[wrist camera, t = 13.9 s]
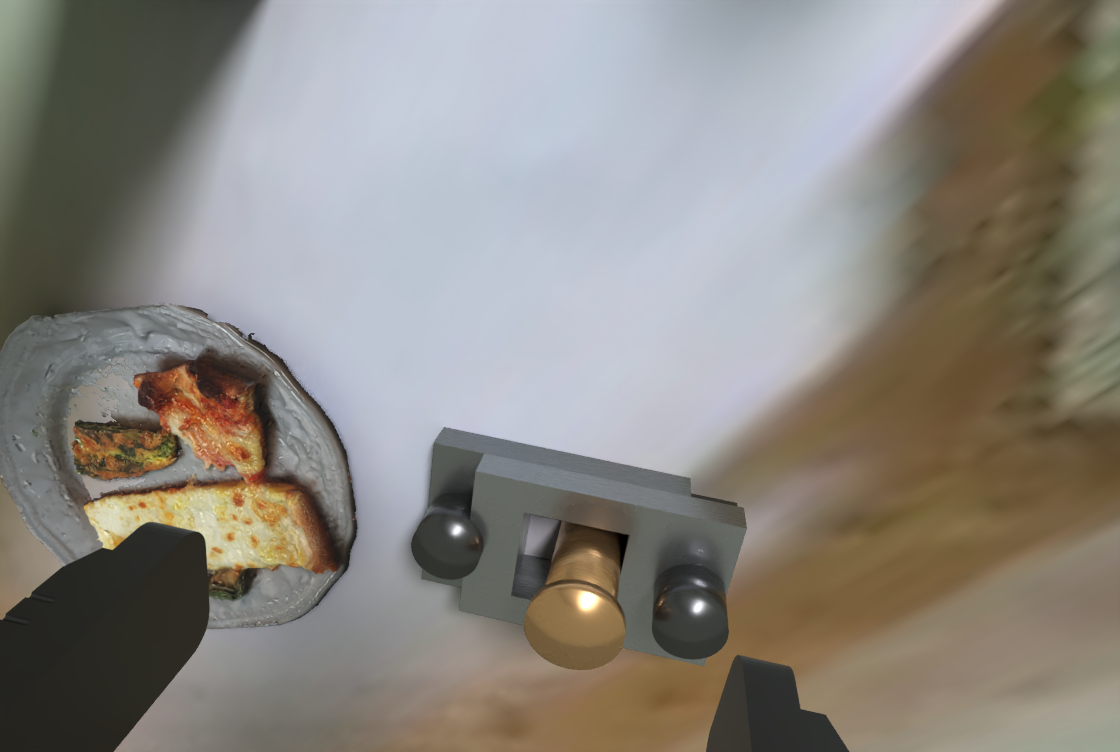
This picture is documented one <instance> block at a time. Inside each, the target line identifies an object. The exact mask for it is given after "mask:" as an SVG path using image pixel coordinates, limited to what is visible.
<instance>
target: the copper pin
mask: <svg viewBox="0 0 1120 752" xmlns="http://www.w3.org/2000/svg"><path fill="white" fill-rule="evenodd" d="M624 538H625V534H622V533H618V532H613V531H608V530H604V529H599V528H594V527H590V526H585V525H580V524H576V523H571V522H566V521H562V522H561V526H560V530H559V534H558V538H557V542H556V546H555V549H554V553H553V557H552V561H551V565H550V569H549V573H548V577H547V581H546V585H545V586H544V587H542V588H541V589H539V590H538V591H537V592H536V593H535V594H534V595H533V597H532V598H531V600H530V602H529V605H528V608H527V612H526V616H525V620H524V630H525V634H526V637H527V639H528V641H529V643H530V645H531V646H532V647H533V649H534V650H535V651H536V652H537V653H538V654H539V655H540V656H541V657H543V658H544V659H546V660H547V661H549V662H551V663H553V664H555V665H557V666H560V667H564V668H568V669H574V670H588V669H594V668H598V667H600V666H603V665H605V664H607V663H609V662H610V661H612V660H613V659H614V658H615V657H616V656H617V655H618V654H619V652H620V651H621V649H622V647H623V644H624V640H625V632H626V618H625V614H624V611H623V609H622V607H621V605H620V604H619V602H618V601H617V598H618V590H619V581H620V572H621V564H622V555H623V547H624Z"/></svg>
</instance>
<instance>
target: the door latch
mask: <svg viewBox="0 0 1120 752" xmlns="http://www.w3.org/2000/svg"><path fill="white" fill-rule="evenodd" d="M530 514H534V515H538V516H543V517H548V518H552V519H557V520H562V521H566V522H571V523H576V524H580V525H585V526H590V527H594V528H599V529H604V530H608V531H613V532H618V533H622V534H625V538H624V547H623V555H622V564H621V572H620V581H619V590H618V598H617V601H618V602H619V604H620V605H621V607H622V609H623V611H624V614H625V618H626V632H625V640H624V644H623V647H622V648H626V649H631V650H635V651H639V652H644V653H648V654H653V655H657V656H662V657H666V658H670V659H675V660H679V661H684V662H688V663H692V664H697V665H701V666H704V665H705V662H706V659H707V657H709V656H712V655H714V654H715V653H717V652H718V651H719V650H720V649H722V647H723V646H724V645H725V643H726V641H727V639H728V633H729V630H728V618H727V606H726V594H727V591H728V588H729V584H730V581H731V578H732V575H733V571H734V568H735V565H736V562H737V558H738V555H739V552H740V549H741V546H742V542H743V539H744V536H745V533H746V529H747V527H746V520H745V513H744V508H742V507H737V503H734V502H729V501H724V500H719V499H715V498H710V497H705V496H700V495H696V494H691V483H690V478H686V477H681V476H676V475H671V474H666V473H662V472H657V471H652V470H647V469H642V468H638V467H633V466H628V465H623V464H618V463H614V462H609V461H604V460H599V459H594V458H589V457H585V456H580V455H575V454H570V453H565V452H561V451H556V450H551V449H546V448H541V447H536V446H532V445H527V444H522V443H517V442H512V441H508V440H503V439H498V438H493V437H488V436H484V435H479V434H474V433H469V432H464V431H459V430H455V429H450V428H445V427H444V428H443V430H442V431H441V433H440V435H439V436H438V438H437V439H436V441H435V442H434V450H433V461H432V472H431V483H430V494H429V505H428V510H427V512H426V514H425V516H424V518H423V519H422V521H421V523H420V525H419V527H418V528H417V530H416V532H415V534H414V536H413V538H412V543H411V548H412V553H413V556H414V558H415V560H416V561H417V563H418V564H419V565H420V566H421V567H422V568H423V571H422V579H425V580H429V581H434V582H438V583H443V584H447V585H451V586H456V587H460V588H462V589H461V598H460V606H459V611H463V612H467V613H472V614H476V615H481V616H485V617H489V618H494V619H498V620H503V621H507V622H511V623H516V624H520V625H524V620H525V616H526V612H527V608H528V605H529V602H530V600H531V598H532V597H533V595H534V594H535V593H536V592H537V591H538V590H539V589H541V588H542V587H544V586H545V585H546V581H547V577H548V573H549V569H550V565H551V560H546V559H542V558H537V557H533V556H528V555H524V551H525V545H526V539H527V533H528V526H529V520H530Z"/></svg>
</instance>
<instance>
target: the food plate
mask: <svg viewBox="0 0 1120 752" xmlns="http://www.w3.org/2000/svg"><path fill="white" fill-rule="evenodd" d="M160 304H161V305H160V306H155V305H146V306H139V307H129V308H126V307H125V308H115V309H113V308H112V309H111V308H110V309H101V310H95V311H88V312H72V313H65V314H58V315H55V317H54V318H52V317H49V316H45V317H44V318H35V317H42V316H39V315H35V316H34V315H33V316H31V317H30V318H29V319H28V320H27V321H25V322H23V323H21V324H20V325H18V326H17V327H16V328H15V329H14V331H13V332H12V333H11V334H9V335H8V338H7V339H6V341H5V344H4V345H3V347H2V349H1V351H0V476H1V479H2V482H3V483H4V485H5V486H4V487H6V488H7V489H8V493H9V494H10V495H11V497H12V500H14V502H15V504H16V505H17V508H18V509H19V511H20V512H21V514H22V516H21V518H22V519H23V520H24V522H25V524H26V525H27V529H29V532H31V533H32V534H33V535H34V536H35V538H37V539H38V540H39V541H40V542H41V543H42V544H44V546H46V547H47V548H48V550H49V551H51V552H52V553H53V554H54V555H55V557H56V558H57V559H58V560H59V562H60V563H61V564H62V565H63V566H65V565H67V564H69V563H72V562H74V561H76V560H78V559H80V558H82V557H84V556H86V555H88V554H90V553H92V552H95V551H97V550H99V549H101V548H106V549H111V550H113V549H114V548H115V547H117V546H118V545H119V544H120V543H121V542H122V541H123V540H125V539H126V538H127V537H128V536H129V535H130V534H132V533H133V532H134V531H135V530H136V529H137V528H139V527H140V526H141V525H143V524H145V523H147V522H156V523H161V524H165V525H170V526H174V527H179V528H183V529H188V530H192V531H196V532H200V533H201V534H202V535H203V536H204V539H205V542H206V555H207V572H208V588H209V605H210V614H209V620H208V625H207V628H206V629H223V628H244V627H259V626H261V624H265V626H273V625H271V623H275V622H276V623H277V624H276V625H281V624H284V623H286V622H290V621H294V620H296V619H298V618H300V617H302V616H303V615H305V614H306V613H308V612H309V611H310V610H311V609H313V608H314V607H315V606H317V605H318V603H319V602H320V601H321V600H322V599H323V597H324V596H325V595H326V594H327V592H328V591H329V590H330V588H331V587H332V586H333V585H334V583H336V581H337V580H339V578H340V577H341V575H343V574H344V572H346V570H347V569H348V567H349V566H348V565H349V559H350V558H349V557H350V554H349V553H350V552H351V551H350V549H351V548H352V546H353V543H354V542H353V541H354V540H355V538H356V533H357V531H356V530H357V522H356V521H357V520H356V518H355V515H356V514H355V513H354V512H356V508H355V507H356V506H355V500H354V499H355V498H353V497H354V496H353V494H354V492H353V489H352V479H351V476H350V472H349V466H348V461H347V454H346V453H347V452H346V450H345V449H344V446H343V443H341V439H339V435H338V433H337V431H336V429H335V428H334V427H335V426H334V425H333V423H332V422H331V421H330V419H329V418H328V416H326V415H325V412H324V411H323V410H322V409H321V407H320V405H319V404H317V402H316V401H314V399H313V398H312V397H311V396H309V394H308V393H307V392H306V391H304V388H302V387H301V385H300V384H299V382H297V381H296V379H295V378H294V377H293V376H292V374H291V372H290V371H289V370H288V367H287V366H286V365H285V363H284V362H283V359H280V357H278V356H277V355H276V354H273V352H270V351H269V350H268V349H267V347H266V346H265V344H264V345H262V344H261V343H259V342H257V341H256V340H253V339H252V338H251V337H252V336H251V334H252V335H254V333H251V334H249V335H248V337H249V338H248V339H249V340H246V339H243V338H242V335H244V334H242V333H241V332H240V331H239V328H236V327H235V326H233V325H231V324H229V323H222V322H219V323H218V322H213V321H211V320H209V319H208V318H207V315H208V314H206V313H205V312H203V311H202V310H199V309H196V308H191V307H185V306H183V305H182V306H181V305H178V306H177V305H173V304H167V303H160ZM162 304H165V305H166V306H165V305H162ZM127 353H129V355H128V354H127ZM154 354H159V355H157V356H156V357H154ZM115 357H117V358H119V357H124V358H125V360H124V362H122V361H120V360H117V361H116V362H112V359H113V358H115ZM132 359H134V361H132ZM117 364H119V365H120V364H121V366H118V367H116V365H117ZM109 365H111V369H110V370H109V373H105V374H104V372H102V369H105V368H106V367H107V366H109ZM144 365H145V366H148V367H146V369H145V368H144ZM135 366H137V367H135ZM125 367H128V368H129V369H126V368H125ZM94 369H97V371H98V372H100V373H102V374H103V377H105V378H106V377H107V376H108V374H110V373H112V372H113V373H114V374H115V375H116V373H117V375H120V374H121V372H123V373H124V374H125V375H122V374H121V376H122V378H123V379H125V380H127V381H128V383H129V385H130V387H131V388H132V389H133V390H131V389H128V390H121V391H120V390H117V389H116V388H114V387H108V388H105V387H101V386H100V385H97V386H98V387H101V388H100V389H101V390H102V391H104V392H105V393H107V394H108V396H107V397H106V398H105V399H106V400H107V401H109V398H111V399H113V400H114V399H115V398H117V399H118V400H119V401H118V402H117V406H115V405H114V406H113V408H114V409H117V410H118V411H117V412H116V411H111V410H110V411H111V413H112V414H111V417H112V418H113V419H115V420H116V421H117V422H115V421H114V422H112V421H110V422H107V423H105V424H104V423H97V422H96V423H92V422H83V421H81V420H78V419H77V422H75V426H74V428H73V430H74V433H75V439H76V440H75V441H74V442H72V443H71V445H72V446H73V448H72V449H73V451H74V454H75V455H72V454H71V452H70V450H69V447H68V437H67V432H66V430H67V429H66V428H68V422H67V417H68V416H69V415H70V411H71V409H70V406H69V401H70V400H71V398H72V397H75V394H77V395H78V397H81V396H83V395H82V394H80V392H79V390H78V389H77V387H78V386H80V385H81V383H82V384H83V385H84V386H94V384H96V381H97V380H98V379H99V378H100V375H99V374H98V373H96V372H95V373H93V371H92V370H94ZM131 370H132V371H131ZM119 373H120V374H119ZM134 373H136V374H137V375H134ZM133 375H134V376H135V377H134V379H133V377H132V376H133ZM91 383H92V384H91ZM117 386H119V385H118V384H117ZM114 391H115V392H114ZM93 393H94V394H96V392H93ZM85 397H86V398H87V396H85ZM100 397H101V399H103V398H104V397H103V395H101V394H100ZM86 402H87V403H88V401H86ZM97 402H98V403H99V405H101V406H102V403H101V402H100V401H99V400H97ZM74 405H75V404H74ZM75 408H76V409H79V408H78V407H77V405H75ZM106 410H109V407H107V408H104V411H106ZM101 412H102V411H101ZM107 415H108V414H107ZM102 416H103V417H106V413H105V412H103V413H102ZM119 424H120V425H119ZM140 424H141V426H140ZM73 457H74V458H73ZM80 474H87V475H88V476H91V477H92V478H93V479H99V480H106V479H107V478H108V479H111V480H112V478H114V477H120V478H124V477H126V478H127V477H128V478H129V479H133V478H134V477H139V476H140V477H141V476H142V477H143V478H146V479H145V480H144V483H143V482H141V483H138V484H137V485H132V486H130V485H129V487H124V486H123V487H119V488H118V489H119V491H118V490H113V491H111V492H108V493H102V492H101V493H100V495H101V498H94V499H93V501H92V500H91V497H90V494H89V492H88V490H87V489H86V488H85V484H84V482H83V480H82V477H81V475H80ZM155 482H156V483H155ZM246 624H247V625H246ZM252 624H253V625H254V626H251V625H252ZM249 625H250V626H249Z"/></svg>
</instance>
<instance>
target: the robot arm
mask: <svg viewBox="0 0 1120 752" xmlns="http://www.w3.org/2000/svg"><path fill="white" fill-rule="evenodd" d="M209 614H210V605H209V588H208V572H207V555H206V542H205V539H204V536H203V535H202V534H201V533H200V532H196V531H192V530H188V529H183V528H179V527H174V526H170V525H165V524H161V523H156V522H147V523H145V524H143V525H141V526H140V527H139V528H137V529H136V530H135V531H134V532H133V533H132V534H130V535H129V536H128V537H127V538H126V539H125V540H123V541H122V542H121V543H120V544H119V545H118V546H117V547H115V548H114V549H113V550H111V549H106V548H101V549H99V550H97V551H95V552H92V553H90V554H88V555H86V556H84V557H82V558H80V559H78V560H76V561H74V562H72V563H69V564H67V565H65V566H63V567H62V568H61V569H59V570H58V571H57V572H56V573H55V574H53V575H52V576H51V577H50V578H48V579H47V580H46V581H45V582H44V583H42V584H41V585H40V586H39V587H38V588H36V589H35V590H34V591H33V592H32V594H31V596H30V598H26V597H25V598H24V599H23V600H22V601H21V602H19V603H18V604H17V605H16V606H15V607H13V608H12V609H11V610H10V611H8V612H7V613H6V616H5V618H4V619H3V620H0V752H114V750H115V749H116V748H117V747H118V746H119V744H120V743H121V742H122V741H123V739H124V738H125V737H126V736H127V735H128V733H129V732H130V731H131V730H132V728H133V727H134V726H135V725H136V724H137V722H138V721H139V720H140V719H141V717H142V716H143V715H144V714H145V713H146V711H147V710H148V709H149V708H150V706H151V705H152V704H153V703H154V702H155V700H156V699H157V698H158V697H159V695H160V694H161V693H162V692H163V691H164V689H165V688H166V687H167V686H168V684H169V683H170V682H171V681H172V680H173V678H174V677H175V676H176V675H177V673H178V672H179V671H180V670H181V668H182V667H183V666H184V665H185V664H186V662H187V661H188V660H189V659H190V657H191V656H192V655H193V654H194V652H195V651H196V649H197V648H198V646H199V644H200V642H201V641H202V638H203V636H204V634H205V631H206V628H207V625H208V620H209ZM706 752H849V750H848V749H847V747H846V746H845V744H844V743H843V741H842V740H841V738H840V737H839V735H838V733H837V732H836V730H835V729H834V727H833V726H832V724H831V723H830V721H829V720H828V718H827V716H826V715H824V714H819V713H815V712H811V711H806V710H802V709H800V704H799V698H798V693H797V687H796V682H795V677H794V673H793V670H792V669H791V667H789V666H785V665H781V664H776V663H772V662H767V661H763V660H758V659H754V658H749V657H745V656H740V655H737V656H736V657H735V659H734V661H733V663H732V666H731V669H730V672H729V675H728V678H727V681H726V684H725V687H724V690H723V693H722V696H721V699H720V702H719V705H718V708H717V711H716V714H715V717H714V720H713V723H712V726H711V730H710V733H709V738H708V743H707V749H706Z"/></svg>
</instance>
